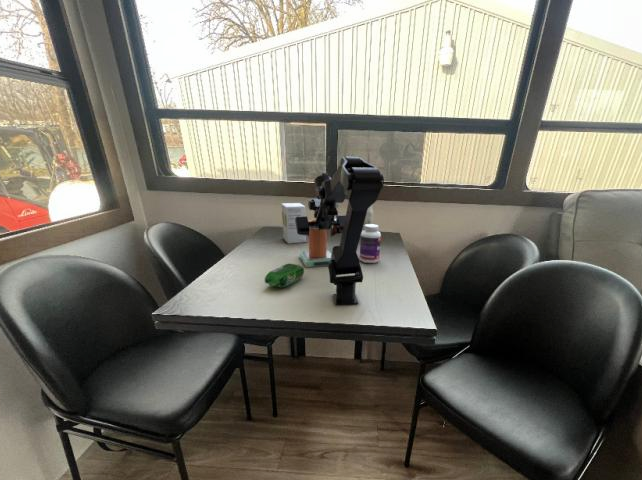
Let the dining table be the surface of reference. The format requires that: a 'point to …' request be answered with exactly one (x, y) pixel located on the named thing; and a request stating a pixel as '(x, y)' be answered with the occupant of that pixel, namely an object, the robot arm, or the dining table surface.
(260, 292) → the dining table surface
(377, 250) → the pill bottle
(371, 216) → the vase
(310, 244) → the jar
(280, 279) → the snack package
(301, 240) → the supplement box
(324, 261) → the scale
